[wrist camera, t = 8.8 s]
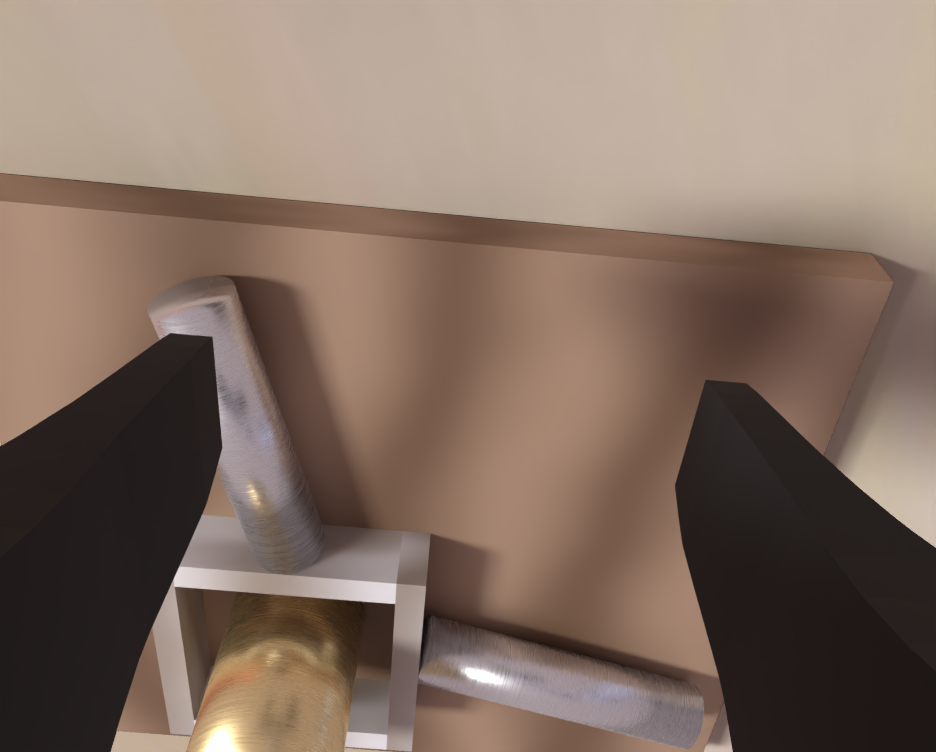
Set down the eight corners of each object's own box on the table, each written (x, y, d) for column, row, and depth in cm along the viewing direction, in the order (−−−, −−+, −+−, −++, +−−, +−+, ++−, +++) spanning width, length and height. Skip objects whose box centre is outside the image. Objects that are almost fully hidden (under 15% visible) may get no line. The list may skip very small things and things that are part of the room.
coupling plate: (871, 253, 22) (929, 326, 19) (686, 736, 33) (705, 828, 30) (-33, 170, 21) (-118, 232, 18) (93, 691, 32) (53, 781, 29)
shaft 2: (696, 671, 28) (709, 726, 27) (668, 707, 29) (678, 762, 28) (433, 601, 27) (429, 655, 25) (413, 641, 28) (407, 695, 26)
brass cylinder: (371, 571, 26) (341, 756, 21) (359, 657, 28) (330, 842, 23) (236, 554, 26) (174, 737, 21) (235, 642, 28) (179, 826, 23)
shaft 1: (163, 283, 21) (134, 326, 19) (244, 270, 21) (221, 313, 19) (264, 526, 25) (248, 578, 24) (331, 518, 25) (320, 571, 23)
